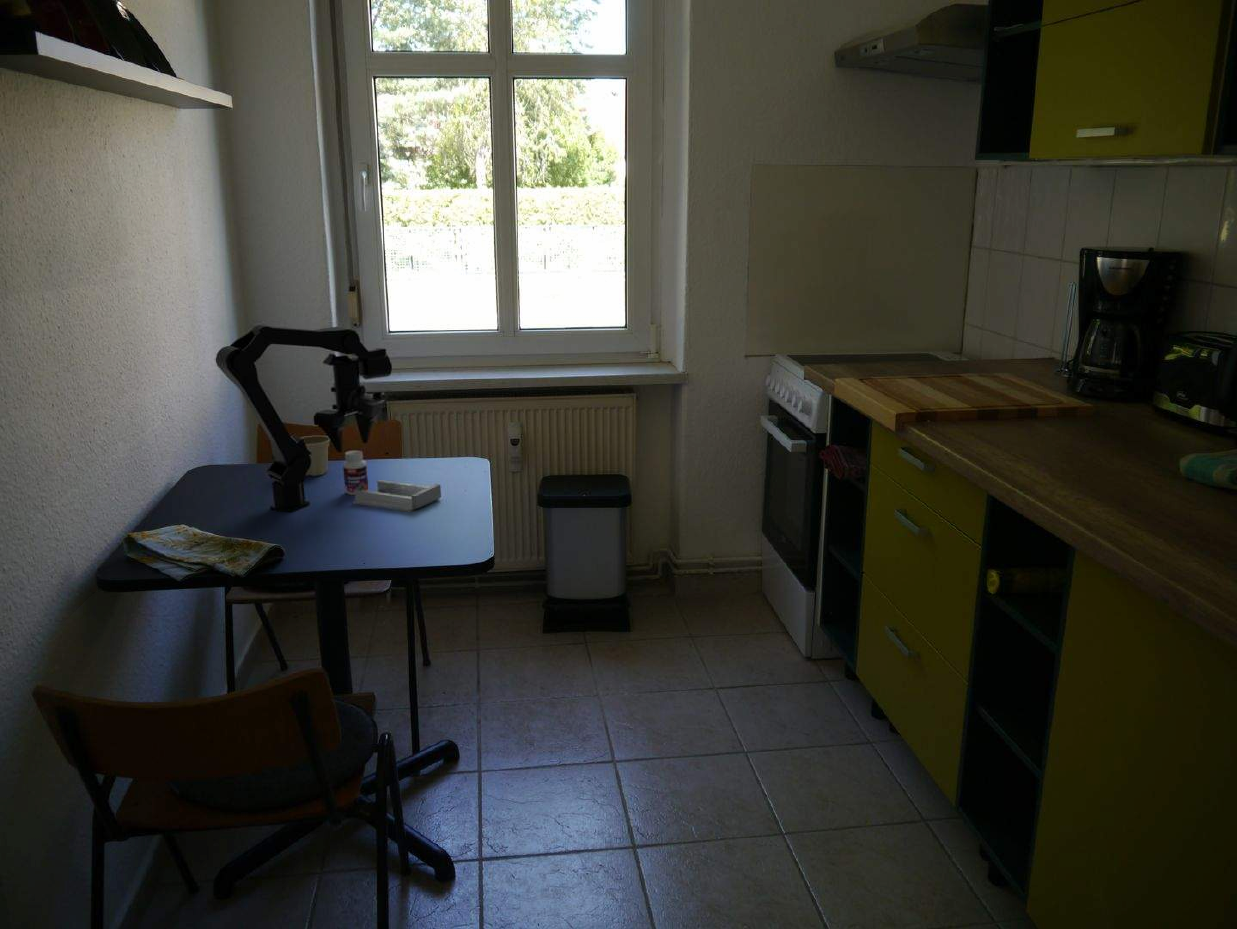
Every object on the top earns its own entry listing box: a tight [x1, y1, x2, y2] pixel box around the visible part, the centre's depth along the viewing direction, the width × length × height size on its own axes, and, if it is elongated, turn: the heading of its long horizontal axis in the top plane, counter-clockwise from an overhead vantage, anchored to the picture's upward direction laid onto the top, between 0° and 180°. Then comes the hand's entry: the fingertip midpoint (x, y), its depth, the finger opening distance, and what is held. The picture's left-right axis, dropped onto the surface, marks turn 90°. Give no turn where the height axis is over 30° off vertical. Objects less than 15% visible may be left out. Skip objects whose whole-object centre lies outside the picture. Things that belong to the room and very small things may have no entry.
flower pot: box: [300, 435, 331, 477], centre depth 260 cm, size 9×9×9 cm
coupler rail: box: [352, 479, 442, 513], centre depth 237 cm, size 11×17×4 cm, turn 64°
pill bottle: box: [342, 450, 369, 496], centre depth 244 cm, size 5×5×10 cm
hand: (352, 447), depth 242 cm, fingers open, 9 cm apart
